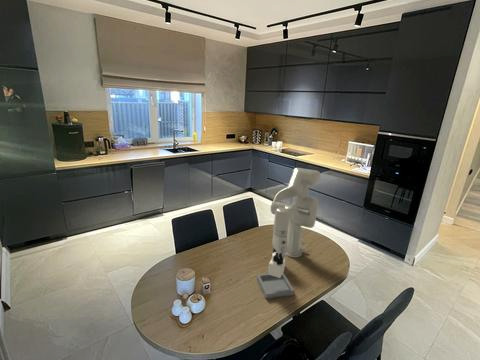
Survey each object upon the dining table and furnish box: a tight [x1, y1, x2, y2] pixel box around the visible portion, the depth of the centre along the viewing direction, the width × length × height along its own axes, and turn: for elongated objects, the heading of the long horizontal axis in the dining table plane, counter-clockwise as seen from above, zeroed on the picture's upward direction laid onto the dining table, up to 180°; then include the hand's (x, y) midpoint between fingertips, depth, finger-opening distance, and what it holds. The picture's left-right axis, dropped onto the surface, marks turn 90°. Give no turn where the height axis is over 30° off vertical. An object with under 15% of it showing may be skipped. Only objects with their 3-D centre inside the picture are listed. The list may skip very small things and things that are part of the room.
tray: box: [256, 272, 295, 300], centre depth 144 cm, size 16×16×3 cm
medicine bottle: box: [267, 252, 286, 278], centre depth 140 cm, size 7×7×12 cm
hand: (277, 260), depth 139 cm, fingers closed on medicine bottle, 6 cm apart
